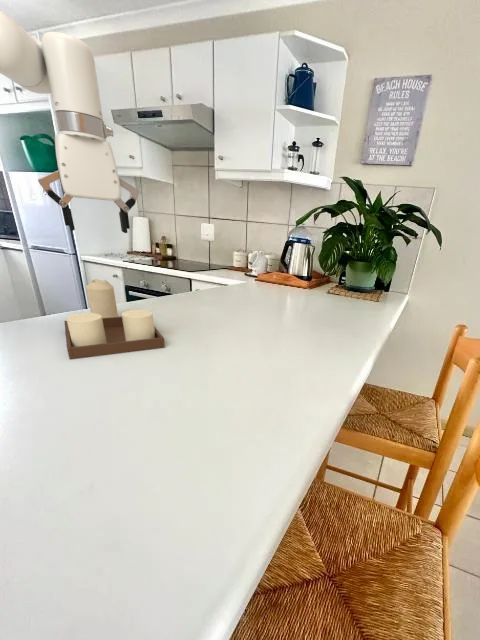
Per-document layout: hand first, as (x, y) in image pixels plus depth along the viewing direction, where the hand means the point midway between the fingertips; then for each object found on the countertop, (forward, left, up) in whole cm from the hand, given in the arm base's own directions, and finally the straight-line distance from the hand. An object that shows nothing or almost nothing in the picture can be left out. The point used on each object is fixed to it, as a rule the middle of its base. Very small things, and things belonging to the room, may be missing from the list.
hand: (99, 231), depth 68 cm
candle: (-2, +2, -20) cm, 21 cm away
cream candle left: (-6, -16, -20) cm, 26 cm away
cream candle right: (+3, -16, -20) cm, 25 cm away
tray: (-2, -12, -20) cm, 24 cm away
